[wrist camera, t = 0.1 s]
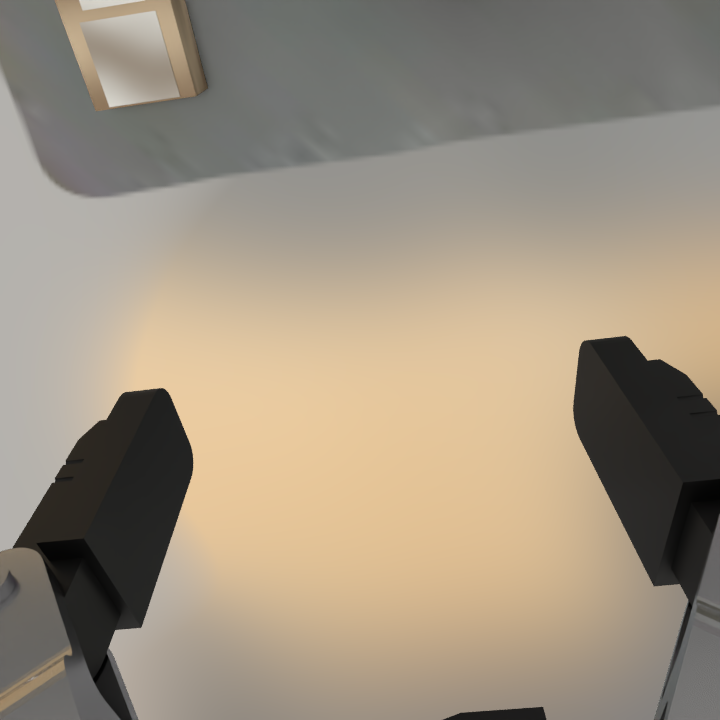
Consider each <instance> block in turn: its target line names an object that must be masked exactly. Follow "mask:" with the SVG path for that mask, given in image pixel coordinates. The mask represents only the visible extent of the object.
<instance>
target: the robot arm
mask: <svg viewBox="0 0 720 720" xmlns="http://www.w3.org/2000/svg"><path fill="white" fill-rule="evenodd" d="M573 412H574V421H575V426H576V430H577V433H578V435H579V438H580V440H581V442H582V444H583V446H584V448H585V450H586V452H587V454H588V456H589V458H590V460H591V462H592V464H593V466H594V468H595V470H596V472H597V474H598V476H599V478H600V480H601V482H602V484H603V486H604V488H605V490H606V492H607V494H608V496H609V498H610V500H611V502H612V504H613V506H614V508H615V510H616V512H617V514H618V516H619V518H620V519H621V522H622V524H623V526H624V528H625V530H626V532H627V534H628V536H629V538H630V540H631V542H632V544H633V545H634V548H635V549H636V552H637V554H638V556H639V557H640V559H641V561H642V563H643V566H644V568H645V570H646V571H647V574H648V575H649V577H650V579H651V581H652V583H653V585H654V586H662V585H674V584H680V585H681V587H682V589H683V591H684V593H685V594H686V596H687V598H688V603H687V606H686V609H685V612H684V616H683V619H682V622H681V626H680V630H679V633H678V636H677V640H676V644H675V647H674V651H673V654H672V658H671V661H670V665H669V668H668V672H667V676H666V679H665V682H664V686H663V690H662V693H661V696H660V700H659V703H658V707H657V710H656V714H655V717H654V720H720V415H718V414H717V410H716V409H715V408H714V407H713V405H712V404H711V403H710V402H709V401H708V400H707V398H703V394H702V393H701V392H700V390H699V389H698V388H697V387H696V386H695V385H694V383H693V382H692V381H691V380H690V379H689V377H688V376H687V375H686V374H684V373H682V372H681V371H679V370H677V369H676V368H673V367H672V366H670V365H669V364H667V363H665V362H664V361H662V360H660V359H659V360H650V361H647V359H646V358H645V357H644V356H643V354H642V353H641V352H640V350H639V349H638V348H637V347H636V345H635V344H634V343H633V342H632V340H630V338H628V337H626V336H622V337H614V338H604V339H595V340H587V341H584V342H582V344H581V346H580V350H579V358H578V367H577V377H576V387H575V395H574V405H573ZM192 471H193V454H192V449H191V445H190V443H189V440H188V438H187V435H186V433H185V430H184V428H183V426H182V423H181V421H180V418H179V416H178V414H177V411H176V409H175V406H174V404H173V402H172V399H171V397H170V395H169V393H168V392H167V391H166V390H165V389H163V388H161V389H160V388H159V389H150V390H143V391H133V392H125V393H123V394H122V395H121V396H120V397H119V399H118V401H117V402H116V404H115V406H114V408H113V409H112V411H111V413H110V415H109V416H108V418H107V420H101V421H99V422H98V423H97V424H95V425H94V426H93V427H92V428H91V429H90V430H89V431H88V432H87V433H86V434H84V435H83V436H82V437H81V438H80V439H79V440H78V441H77V443H76V445H75V446H74V448H73V450H72V451H71V453H70V455H69V456H68V458H67V459H66V465H63V466H62V468H61V469H60V471H59V473H58V474H57V476H56V477H55V483H52V484H51V486H50V487H49V489H48V491H47V492H46V494H45V495H44V497H43V499H42V501H41V502H40V504H39V505H38V507H37V509H36V511H35V512H34V514H33V515H32V517H31V519H30V520H29V522H28V523H27V525H26V527H25V528H24V530H23V532H22V533H21V535H20V536H19V538H18V540H17V541H16V543H15V545H14V546H13V548H12V549H8V550H4V551H1V552H0V720H138V717H137V715H136V712H135V710H134V707H133V705H132V702H131V699H130V697H129V694H128V692H127V689H126V686H125V684H124V682H123V679H122V676H121V674H120V671H119V669H118V666H117V663H116V661H115V658H114V656H113V654H112V652H111V651H110V649H109V648H108V647H109V645H110V642H111V639H112V636H113V634H114V631H115V630H119V629H131V628H141V627H142V624H143V621H144V618H145V615H146V612H147V609H148V606H149V603H150V600H151V597H152V594H153V591H154V588H155V585H156V582H157V579H158V576H159V573H160V570H161V567H162V564H163V561H164V558H165V555H166V552H167V549H168V546H169V543H170V540H171V537H172V534H173V531H174V528H175V525H176V522H177V519H178V516H179V513H180V510H181V507H182V504H183V501H184V498H185V494H186V492H187V489H188V485H189V483H190V480H191V476H192ZM444 720H546V717H545V713H544V709H543V707H536V708H522V709H508V710H494V711H480V712H467V713H459V714H457V715H454V716H451V717H449V718H446V719H444Z"/></svg>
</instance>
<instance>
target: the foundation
mask: <svg viewBox="0 0 720 720" xmlns="http://www.w3.org/2000/svg"><path fill="white" fill-rule="evenodd" d="M55 2H56V5H57V8H58V10H59V13H60V16H61V18H62V21H63V24H64V27H65V29H66V32H67V35H68V37H69V40H70V43H71V45H72V48H73V51H74V53H75V56H76V59H77V62H78V64H79V67H80V70H81V72H82V75H83V78H84V80H85V83H86V86H87V88H88V91H89V94H90V97H91V99H92V102H93V105H94V107H95V110H96V111H100V110H107V109H114V108H120V107H127V106H134V105H140V104H147V103H154V102H160V101H167V100H174V99H180V98H187V97H194V96H197V95H199V94H200V93H202V92H203V91H205V90H206V89H207V88H208V87H207V83H206V79H205V76H204V72H203V68H202V64H201V60H200V56H199V53H198V49H197V45H196V41H195V37H194V33H193V30H192V26H191V22H190V18H189V14H188V10H187V6H186V3H185V0H55Z"/></svg>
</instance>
